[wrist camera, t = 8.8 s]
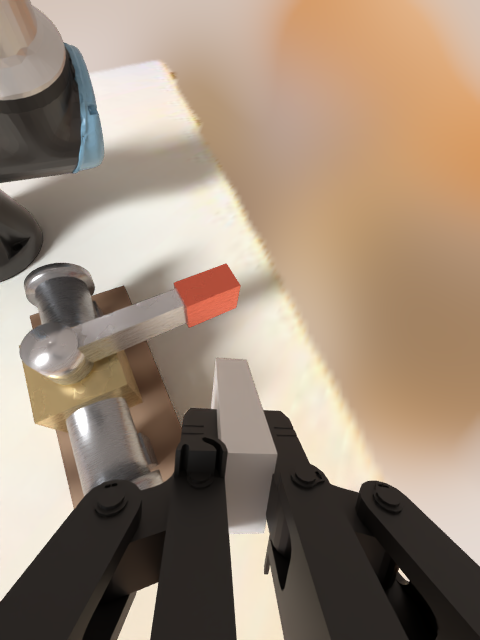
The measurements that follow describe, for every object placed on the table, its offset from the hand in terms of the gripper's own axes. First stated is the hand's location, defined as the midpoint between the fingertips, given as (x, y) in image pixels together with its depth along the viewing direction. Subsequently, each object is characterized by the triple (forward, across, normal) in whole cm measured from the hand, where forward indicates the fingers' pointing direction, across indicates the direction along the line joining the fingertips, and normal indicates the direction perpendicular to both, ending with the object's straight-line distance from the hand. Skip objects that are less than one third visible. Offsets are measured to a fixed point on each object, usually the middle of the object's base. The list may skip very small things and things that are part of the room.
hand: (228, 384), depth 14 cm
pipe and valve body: (+19, -11, -12) cm, 25 cm away
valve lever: (+13, -6, -2) cm, 14 cm away
